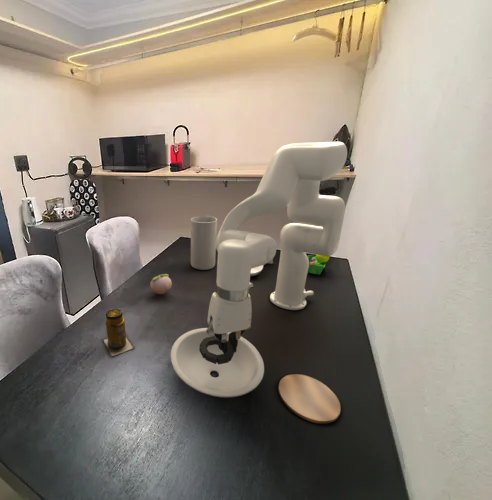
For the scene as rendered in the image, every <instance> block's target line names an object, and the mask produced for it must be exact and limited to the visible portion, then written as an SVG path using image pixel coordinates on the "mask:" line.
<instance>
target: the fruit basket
mask: <svg viewBox="0 0 492 500" xmlns="http://www.w3.org/2000/svg"><path fill="white" fill-rule="evenodd" d="M307 257H308V260H309V267H308V272H307V274H309V273H310V274H314V275H318V276H320V275H321V274H322V272H323V270H324V268H325V267H326V265H327V263H328V261H329V260H330V257H331V255H330V256H323V255H318V254H315V255H312V254H311V255H309V254H308V255H307Z"/></svg>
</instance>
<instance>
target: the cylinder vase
mask: <svg viewBox="0 0 492 500" xmlns="http://www.w3.org/2000/svg"><path fill="white" fill-rule="evenodd" d="M217 232H218V218H217V217H215V216H210V215H199V216H194V217H191V218H190V266H191V267H192V268H194V269H195V270H198V271H199V270H201V271H208V270H211V269H213V268H214V267H215V266H216V253H217V249H216V238H217V235H218V233H217Z"/></svg>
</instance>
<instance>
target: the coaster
mask: <svg viewBox="0 0 492 500" xmlns="http://www.w3.org/2000/svg"><path fill="white" fill-rule="evenodd" d="M277 390H278V394H279V397H280V399H281V401H282V403H283V404H284V405H285V406H286V407H287V408H288V409H289V410H290V411H291V412H292V413H293V414H295V415H296V416H298V417H300V418H302V419H304V420H305V421H309V422H311V423H315V424H323V425H324V424H330V423H333V422H335V421H336V420H338V419H339V417H340V414H341V409H342V407H341V402H340V400H339V398H338V397H337V395H336V394H335V393H334V391H333V390H331V389H330V387H328V386H327V385H326V384H324V383H323V382H322V381H320V380H318V379H316V378H314V377H311V376H308V375H305V374H298V373H296V374H295V373H294V374H288V375H285V376H284V377H282V378H281V379H280V381H279V383H278V389H277Z"/></svg>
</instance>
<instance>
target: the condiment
mask: <svg viewBox="0 0 492 500" xmlns="http://www.w3.org/2000/svg"><path fill="white" fill-rule="evenodd" d="M123 314H124V313H123V311H122V310H121V309H119V308H111V309H109V310H107V312H105V329H106V336H107V338H105V339H103V342H104V344H105V346H106V349H107V350H108V352H109V353H110V356H111V357H114V356H117V355H121V354H123V353H125V352H127V351H130V350H132V349H134V347H133V345H132V344H131V342H130V341H129V339H128V337H127V331H126V321H125V318H124V316H123Z"/></svg>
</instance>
